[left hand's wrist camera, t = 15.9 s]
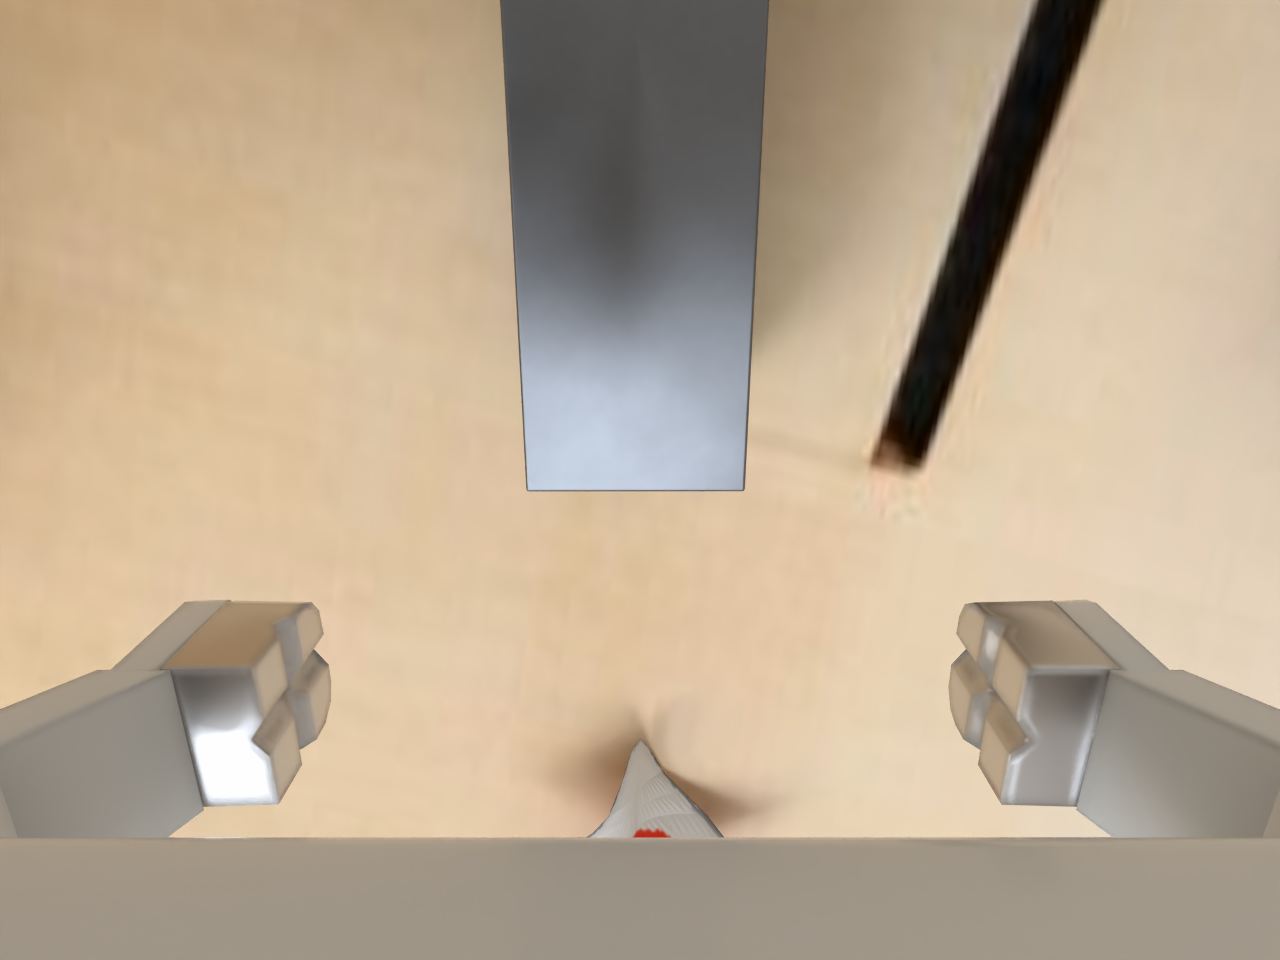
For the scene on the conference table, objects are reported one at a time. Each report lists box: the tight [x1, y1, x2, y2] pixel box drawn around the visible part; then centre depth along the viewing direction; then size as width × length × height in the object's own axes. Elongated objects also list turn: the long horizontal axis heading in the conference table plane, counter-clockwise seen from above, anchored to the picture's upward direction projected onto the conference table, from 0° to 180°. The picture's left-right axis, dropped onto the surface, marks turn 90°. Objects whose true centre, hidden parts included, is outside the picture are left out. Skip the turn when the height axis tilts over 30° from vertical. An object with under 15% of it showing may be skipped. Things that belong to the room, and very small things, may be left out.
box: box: [500, 0, 769, 491], centre depth 25 cm, size 24×6×13 cm, turn 0°
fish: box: [586, 739, 724, 838], centre depth 41 cm, size 11×16×10 cm
